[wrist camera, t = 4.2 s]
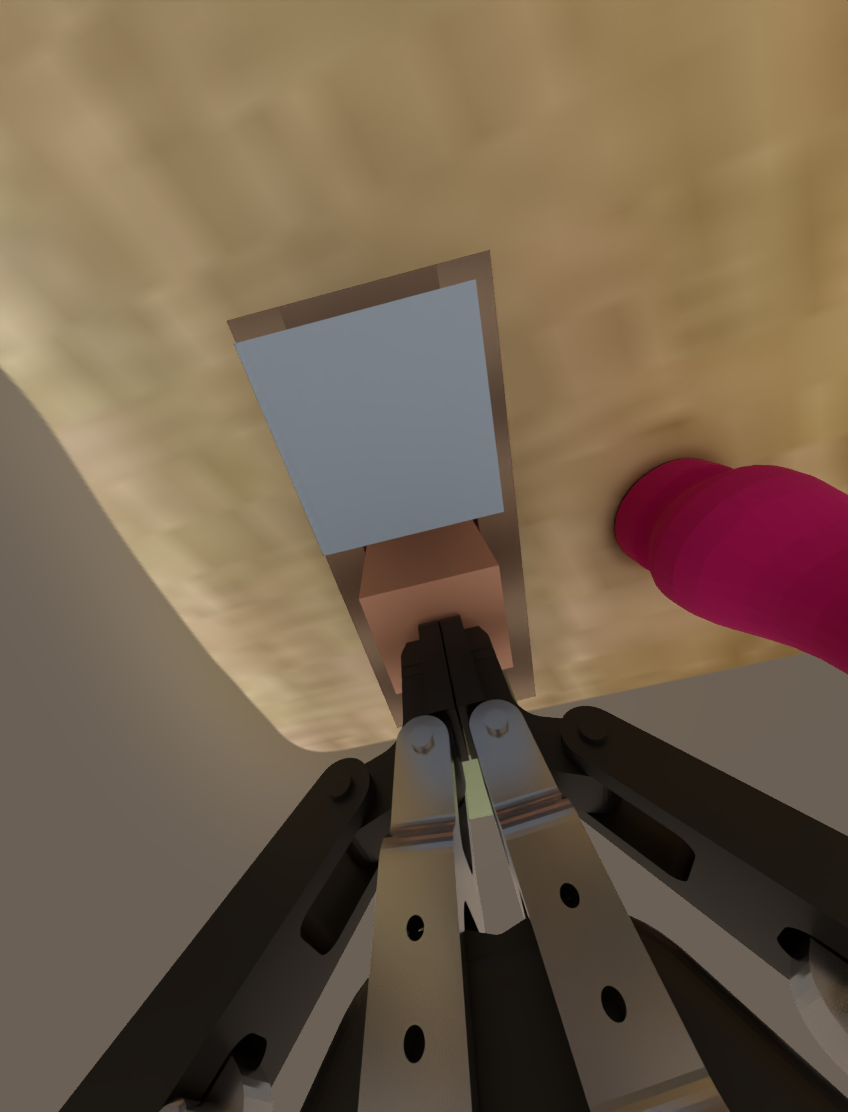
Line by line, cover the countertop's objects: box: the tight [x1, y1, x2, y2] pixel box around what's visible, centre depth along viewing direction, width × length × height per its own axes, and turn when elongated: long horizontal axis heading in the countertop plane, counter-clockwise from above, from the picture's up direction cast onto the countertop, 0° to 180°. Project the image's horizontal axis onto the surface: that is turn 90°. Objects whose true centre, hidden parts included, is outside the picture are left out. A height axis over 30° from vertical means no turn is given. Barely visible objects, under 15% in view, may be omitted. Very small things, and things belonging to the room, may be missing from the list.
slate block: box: [234, 279, 504, 556], centre depth 10 cm, size 5×5×7 cm
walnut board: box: [227, 250, 536, 728], centre depth 18 cm, size 22×9×3 cm, turn 13°
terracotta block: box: [359, 520, 513, 694], centre depth 15 cm, size 5×5×7 cm
